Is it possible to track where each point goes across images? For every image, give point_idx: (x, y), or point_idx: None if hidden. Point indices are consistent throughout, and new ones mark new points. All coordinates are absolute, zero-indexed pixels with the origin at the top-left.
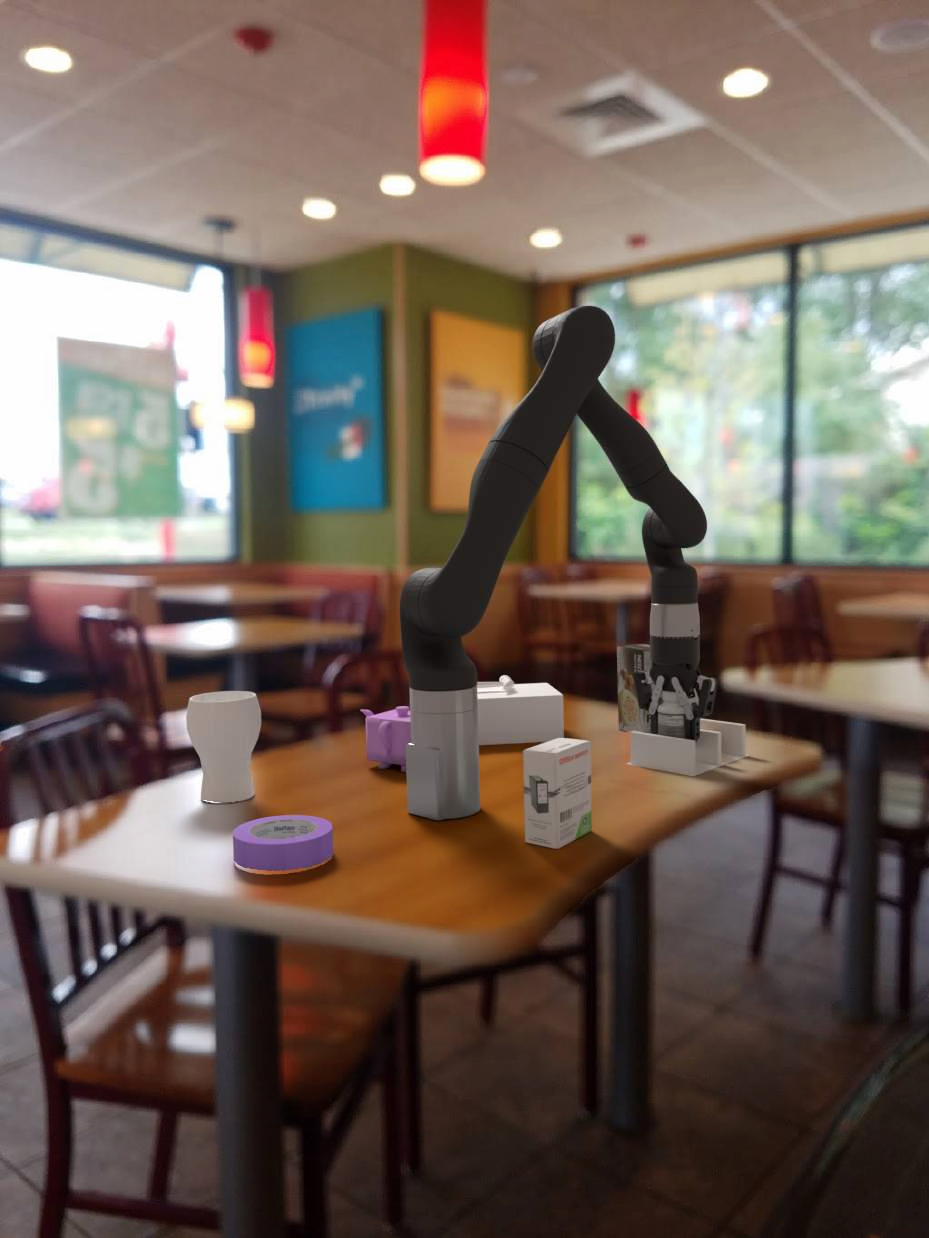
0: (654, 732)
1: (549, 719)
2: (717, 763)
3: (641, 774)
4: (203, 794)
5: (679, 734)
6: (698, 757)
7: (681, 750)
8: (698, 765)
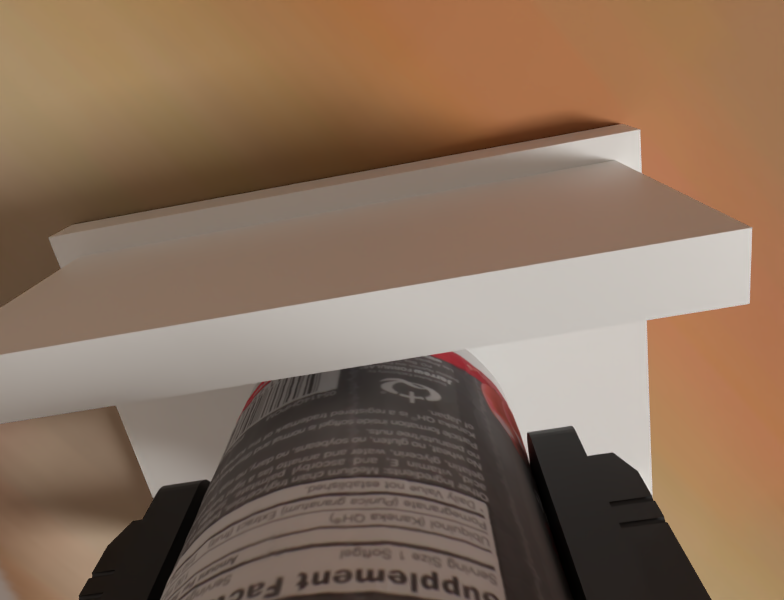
0: (565, 454)
1: None
2: None
3: (455, 116)
4: None
5: (212, 487)
6: None
7: (86, 305)
8: None
